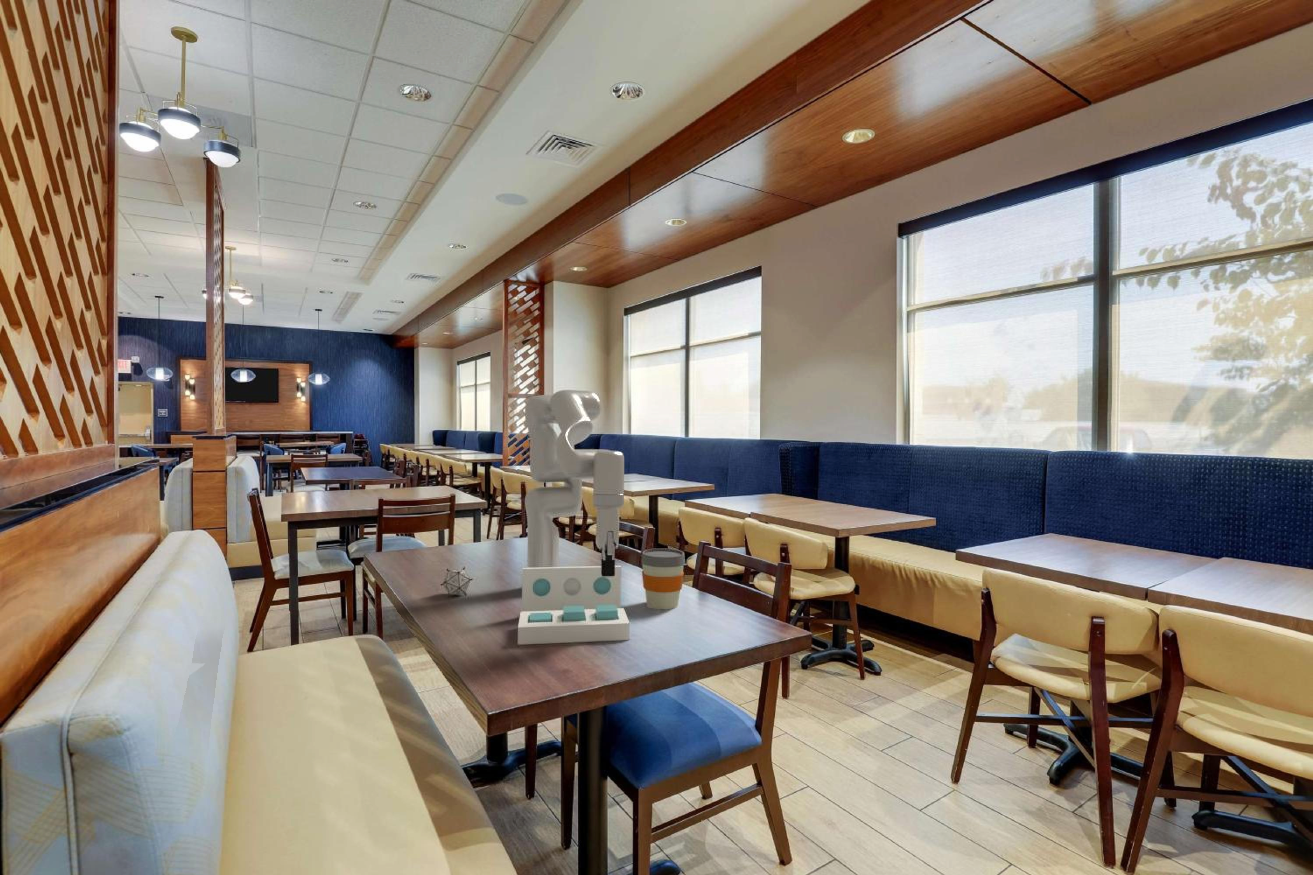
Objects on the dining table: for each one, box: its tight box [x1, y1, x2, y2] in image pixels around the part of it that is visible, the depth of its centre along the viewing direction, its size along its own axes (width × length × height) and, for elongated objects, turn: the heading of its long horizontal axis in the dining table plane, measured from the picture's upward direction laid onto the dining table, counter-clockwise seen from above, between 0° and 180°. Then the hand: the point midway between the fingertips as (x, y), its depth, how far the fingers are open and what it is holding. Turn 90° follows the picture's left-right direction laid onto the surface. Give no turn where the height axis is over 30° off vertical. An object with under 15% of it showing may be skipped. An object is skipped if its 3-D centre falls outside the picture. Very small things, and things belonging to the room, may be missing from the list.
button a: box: [530, 613, 551, 623], centre depth 147 cm, size 5×5×3 cm
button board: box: [517, 607, 631, 646], centre depth 148 cm, size 12×26×4 cm, turn 100°
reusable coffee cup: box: [640, 548, 686, 610], centre depth 173 cm, size 13×12×15 cm
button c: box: [595, 605, 618, 620], centre depth 150 cm, size 5×5×3 cm
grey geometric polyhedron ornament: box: [440, 566, 474, 598], centre depth 179 cm, size 9×8×10 cm
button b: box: [563, 606, 585, 621], centre depth 148 cm, size 5×5×3 cm
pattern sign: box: [521, 565, 622, 612], centre depth 162 cm, size 6×26×13 cm, turn 100°
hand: (608, 575), depth 149 cm, fingers closed
